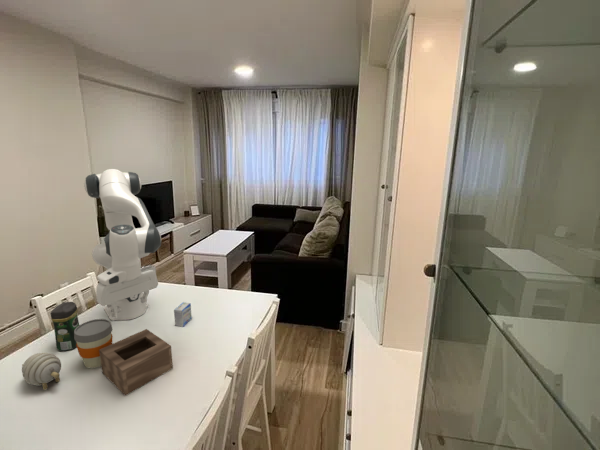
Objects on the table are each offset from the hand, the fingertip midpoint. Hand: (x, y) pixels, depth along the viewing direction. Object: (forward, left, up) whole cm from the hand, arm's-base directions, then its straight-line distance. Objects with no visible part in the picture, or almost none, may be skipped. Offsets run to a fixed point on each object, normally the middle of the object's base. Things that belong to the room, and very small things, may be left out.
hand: (131, 306), depth 117 cm
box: (0, 0, -27) cm, 27 cm away
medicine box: (-17, +31, -27) cm, 45 cm away
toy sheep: (-19, -24, -27) cm, 41 cm away
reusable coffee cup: (-18, -7, -27) cm, 33 cm away
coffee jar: (-38, -10, -27) cm, 48 cm away
